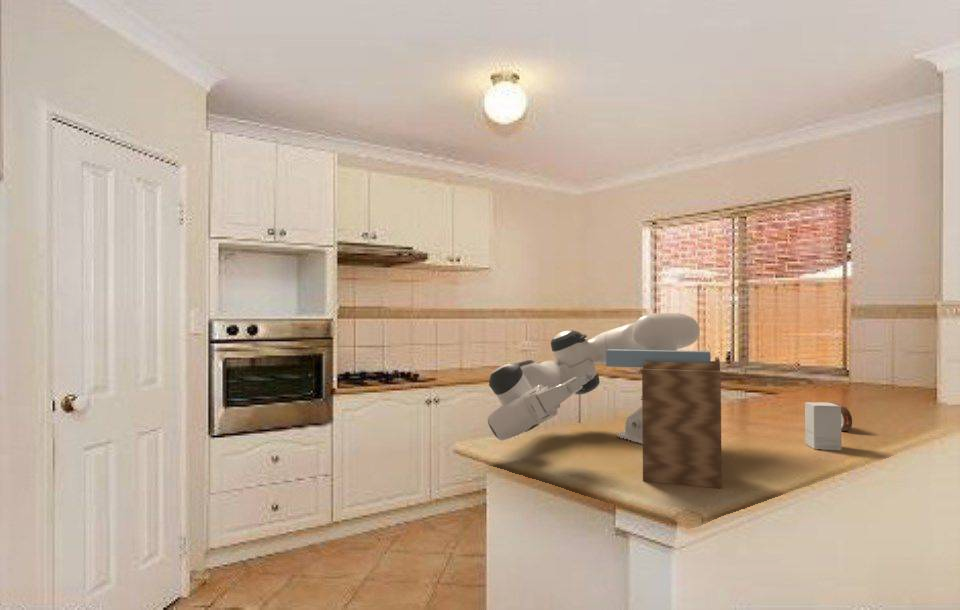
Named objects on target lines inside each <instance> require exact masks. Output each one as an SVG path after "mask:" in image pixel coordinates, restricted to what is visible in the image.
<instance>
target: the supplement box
mask: <svg viewBox="0 0 960 610" xmlns="http://www.w3.org/2000/svg"><path fill="white" fill-rule="evenodd" d="M833 403H834V402H832V403H828V402H826V401H825V402H824V401H821V402H817V401H816V402H812V401H811V402H808V401H805V402H804V421H805V422H804V425H805V426H804V427H805V428H804V431H805V438H804V439H805V442H804V443H805V445H806V446H808V447H810V448H811V449H813V450H818V449H821V450H820V451H842V445H843V444H842V431H841V406H838V405H836V404H837V403H835V404H833Z"/></svg>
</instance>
